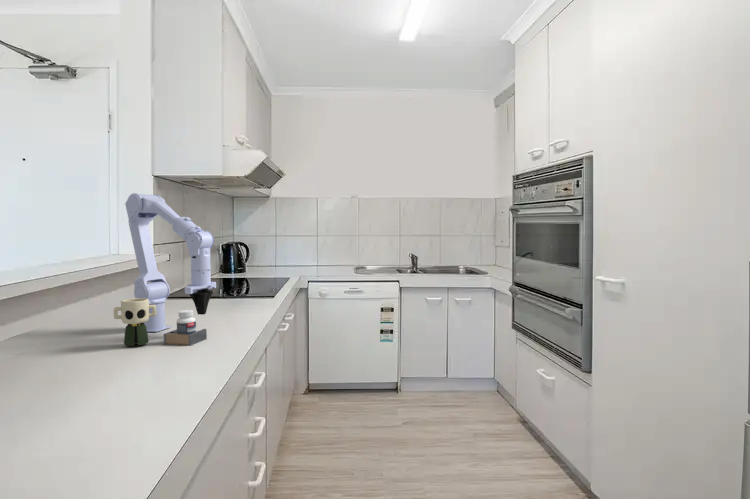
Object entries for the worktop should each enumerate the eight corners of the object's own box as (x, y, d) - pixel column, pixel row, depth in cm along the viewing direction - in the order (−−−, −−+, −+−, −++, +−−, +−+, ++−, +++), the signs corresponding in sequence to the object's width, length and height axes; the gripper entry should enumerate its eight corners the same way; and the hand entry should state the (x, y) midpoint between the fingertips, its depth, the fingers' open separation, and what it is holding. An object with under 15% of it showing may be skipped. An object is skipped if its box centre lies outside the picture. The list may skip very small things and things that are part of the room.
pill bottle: (189, 343, 143) (187, 313, 142) (173, 342, 144) (171, 312, 144) (200, 339, 148) (198, 309, 147) (185, 338, 150) (183, 309, 149)
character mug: (114, 350, 136) (112, 303, 136) (115, 344, 143) (114, 299, 142) (157, 346, 141) (156, 300, 140) (157, 340, 147) (155, 296, 146)
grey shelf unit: (164, 344, 143) (163, 333, 143) (180, 337, 151) (180, 327, 151) (191, 345, 141) (190, 334, 141) (206, 338, 149) (206, 328, 149)
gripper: (199, 272, 146) (200, 319, 146) (224, 268, 160) (225, 310, 161) (178, 272, 147) (179, 318, 148) (204, 268, 161) (205, 309, 162)
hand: (201, 314), depth 154 cm, fingers closed
